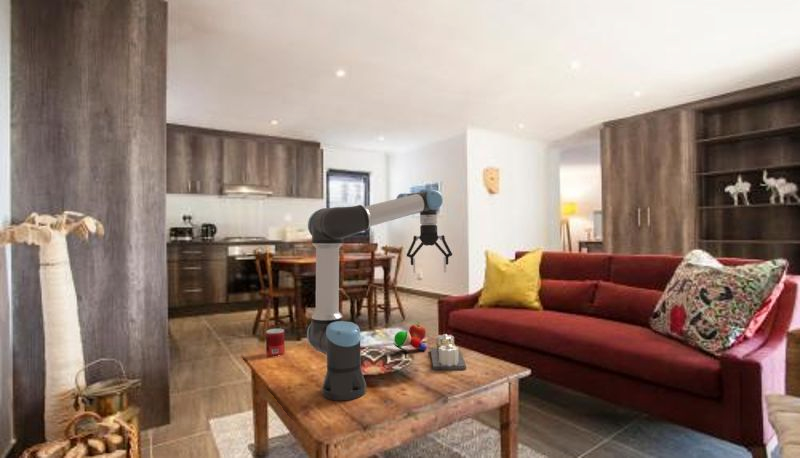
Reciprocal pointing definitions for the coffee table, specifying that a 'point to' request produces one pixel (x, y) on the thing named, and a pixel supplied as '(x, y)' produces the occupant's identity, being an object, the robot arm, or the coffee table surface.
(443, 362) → the planet gear
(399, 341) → the toy
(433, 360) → the carrier
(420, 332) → the apple
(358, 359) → the robot arm
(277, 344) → the canned food
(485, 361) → the coffee table surface
